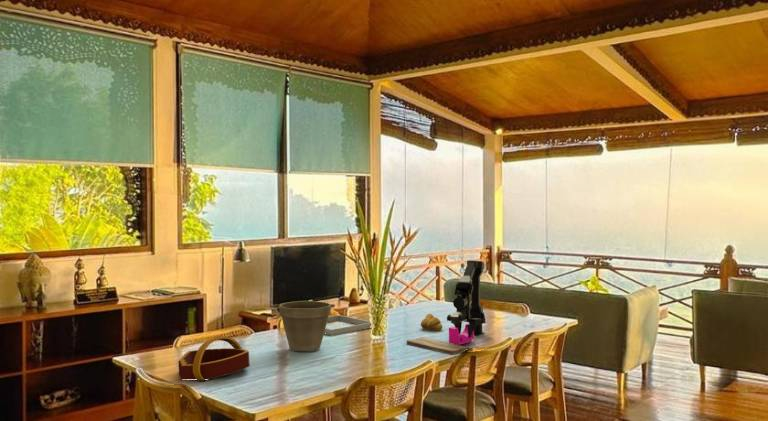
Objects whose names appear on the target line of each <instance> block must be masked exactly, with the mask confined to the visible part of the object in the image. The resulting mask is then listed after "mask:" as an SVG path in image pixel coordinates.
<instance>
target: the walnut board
mask: <svg viewBox="0 0 768 421" xmlns="http://www.w3.org/2000/svg"><path fill="white" fill-rule="evenodd" d="M406 345H411V346H415V347H419V348H423V349H428V350H433V351H434V352H440V353H444V354H448V355H455V354H459V353H463V352H462V351H464V350H466V349H469V348H470V347H469V346H465V345H462V344H460V345H457V344H453V343H449V342H446V341H442V340H437V339H434V338H428V337H424V336H423V337H418V338H413V339H407V340H406ZM464 352H465V351H464Z"/></svg>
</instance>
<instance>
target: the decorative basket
mask: <svg viewBox="0 0 768 421" xmlns="http://www.w3.org/2000/svg"><path fill="white" fill-rule="evenodd" d="M216 341H223V342H225V343H228V344H229V345H230V346H231V347H232V348H231V347H228V348H225V347H224V348H223V347H222V348H208V347H209V346H210V345H211V344H212V343H214V342H216ZM177 364H178V376H179V375H180V376H179V377H180V379H181V380H182V379H197V380H196V381H199V380H205V379H209V380H210V379H215V378H219V377H223V376H227V375H230V374H233V373H237V372H239V371H242V370H244V369H245V370H246V368H249V367H250V351H249V350H248V349H243V348H242V346H241V345H240V343H239V341H237V339H235V338H233V337H231V336H227V335H220V336H215V337H212V338H210V339H207V340H206V341H205V342H203V343H202V344H201V345H200V347H199V348H198V349H196V350H195V349H194V350H188V351H187V352H185V353H184V354H183V355H182V356H181V358H179V360H178V363H177Z"/></svg>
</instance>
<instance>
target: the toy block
mask: <svg viewBox="0 0 768 421" xmlns="http://www.w3.org/2000/svg"><path fill="white" fill-rule="evenodd" d="M468 324H469V323H465V325H464V329H463V331H461V333H459V331H458V328H455V326H454V327H453V326H451V327H448V343H453V344H456V345H463V344H464V345H465V344H468V343H472V341H473V340H475V335H474V331H473V333H472V335H471V337H470V338H468V327H467V325H468Z"/></svg>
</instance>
